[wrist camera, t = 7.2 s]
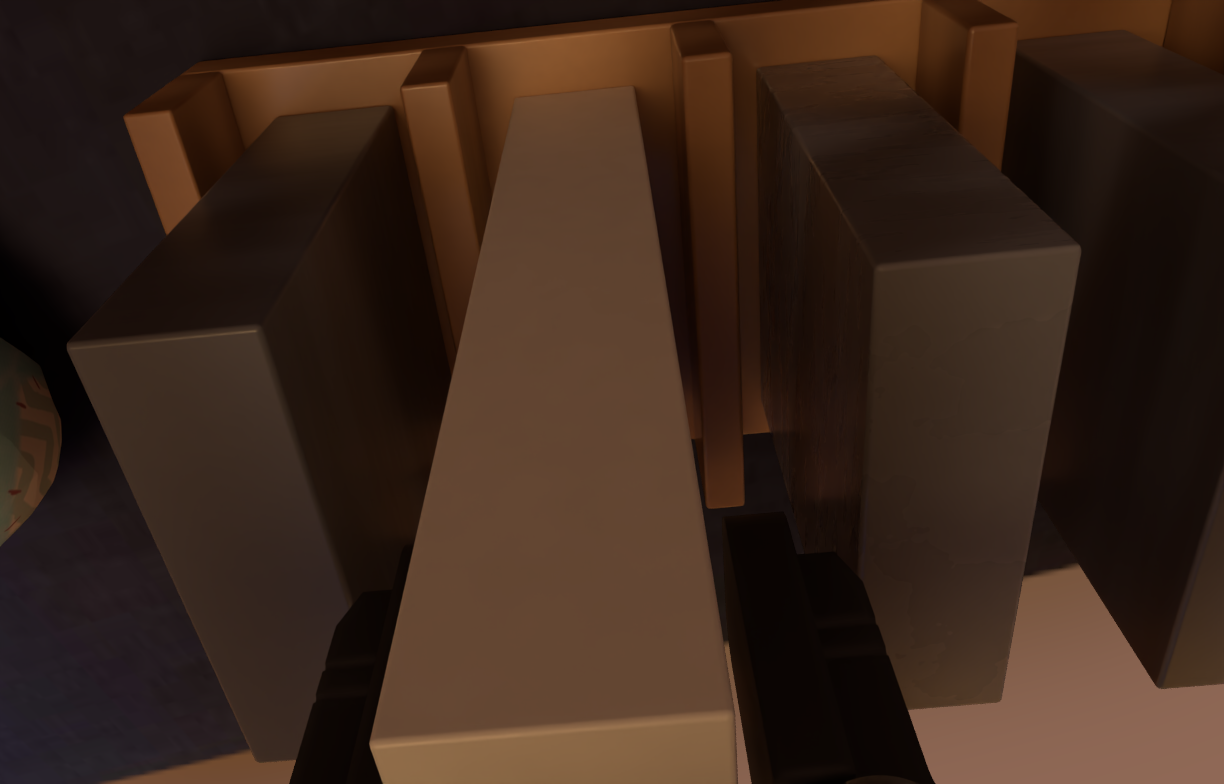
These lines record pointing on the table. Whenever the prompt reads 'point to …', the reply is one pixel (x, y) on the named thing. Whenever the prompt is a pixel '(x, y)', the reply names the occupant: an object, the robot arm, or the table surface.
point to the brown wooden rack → (709, 310)
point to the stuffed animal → (24, 438)
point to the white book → (562, 497)
